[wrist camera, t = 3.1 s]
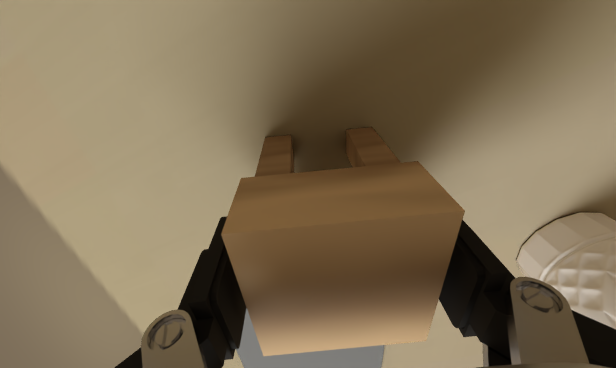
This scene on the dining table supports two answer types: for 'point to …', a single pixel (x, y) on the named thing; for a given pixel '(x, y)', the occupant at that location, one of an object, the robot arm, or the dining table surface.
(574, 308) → the white cup
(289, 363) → the mat
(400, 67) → the dining table surface
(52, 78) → the dining table surface
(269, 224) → the stool
